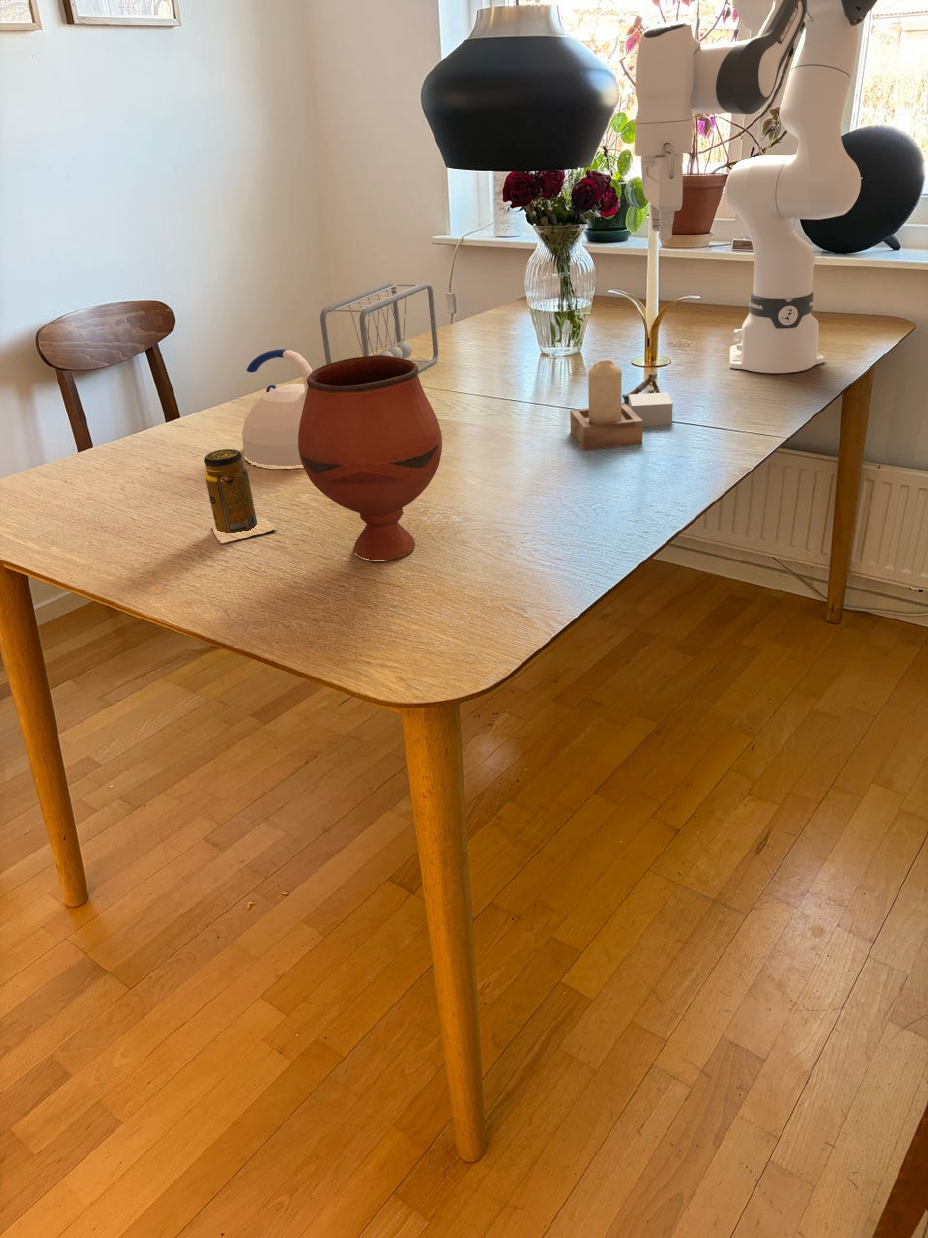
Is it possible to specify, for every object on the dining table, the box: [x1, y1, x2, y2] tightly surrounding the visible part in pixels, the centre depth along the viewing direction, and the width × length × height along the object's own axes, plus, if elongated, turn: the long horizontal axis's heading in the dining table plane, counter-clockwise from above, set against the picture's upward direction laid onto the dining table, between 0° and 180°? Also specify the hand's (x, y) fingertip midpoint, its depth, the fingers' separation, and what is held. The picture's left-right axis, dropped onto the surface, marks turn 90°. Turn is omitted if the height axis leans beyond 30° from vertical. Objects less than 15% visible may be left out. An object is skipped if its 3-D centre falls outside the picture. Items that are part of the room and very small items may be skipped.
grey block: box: [628, 391, 674, 427], centre depth 176 cm, size 7×7×4 cm
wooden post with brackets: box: [621, 372, 661, 404], centre depth 187 cm, size 2×8×4 cm, turn 120°
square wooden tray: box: [569, 403, 644, 451], centre depth 169 cm, size 10×10×4 cm
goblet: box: [298, 354, 443, 561], centre depth 130 cm, size 19×19×25 cm
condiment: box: [203, 448, 257, 533], centre depth 143 cm, size 7×8×12 cm
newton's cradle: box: [319, 281, 439, 374], centre depth 210 cm, size 30×10×18 cm, turn 154°
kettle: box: [241, 348, 314, 466], centre depth 172 cm, size 20×21×18 cm
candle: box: [587, 360, 623, 424], centre depth 166 cm, size 6×6×10 cm
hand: (661, 234), depth 162 cm, fingers open, 8 cm apart
